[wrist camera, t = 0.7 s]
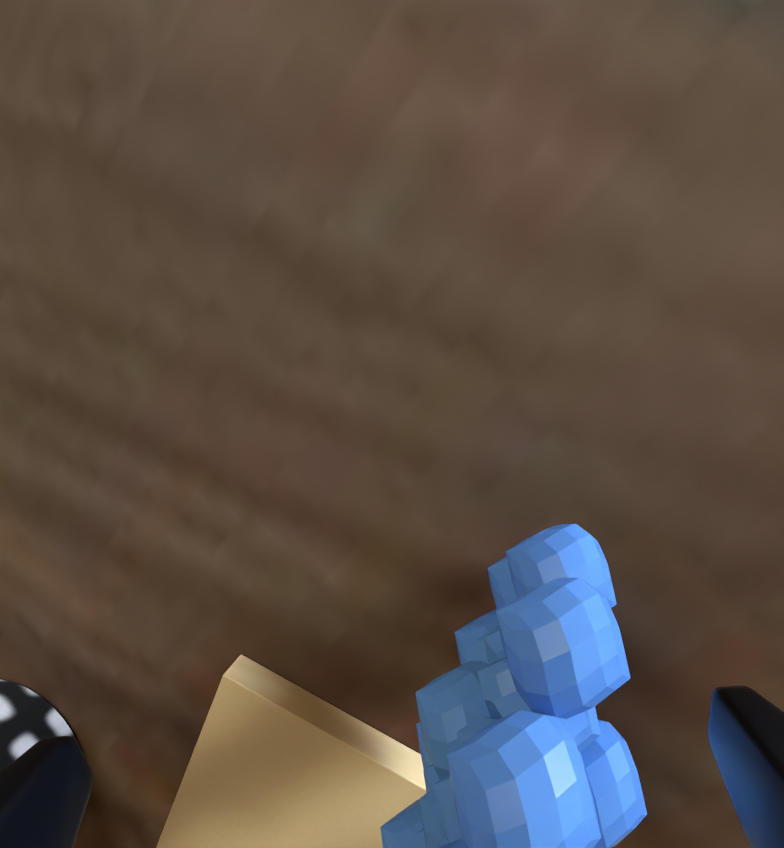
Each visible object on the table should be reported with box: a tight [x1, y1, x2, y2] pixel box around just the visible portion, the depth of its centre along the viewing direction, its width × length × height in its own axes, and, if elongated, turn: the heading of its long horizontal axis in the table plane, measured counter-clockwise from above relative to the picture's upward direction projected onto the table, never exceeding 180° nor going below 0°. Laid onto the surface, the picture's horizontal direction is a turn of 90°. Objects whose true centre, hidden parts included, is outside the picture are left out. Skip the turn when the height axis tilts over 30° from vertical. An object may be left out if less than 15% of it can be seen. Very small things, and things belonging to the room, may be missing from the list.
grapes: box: [380, 524, 647, 848], centre depth 15 cm, size 12×7×12 cm, turn 158°
